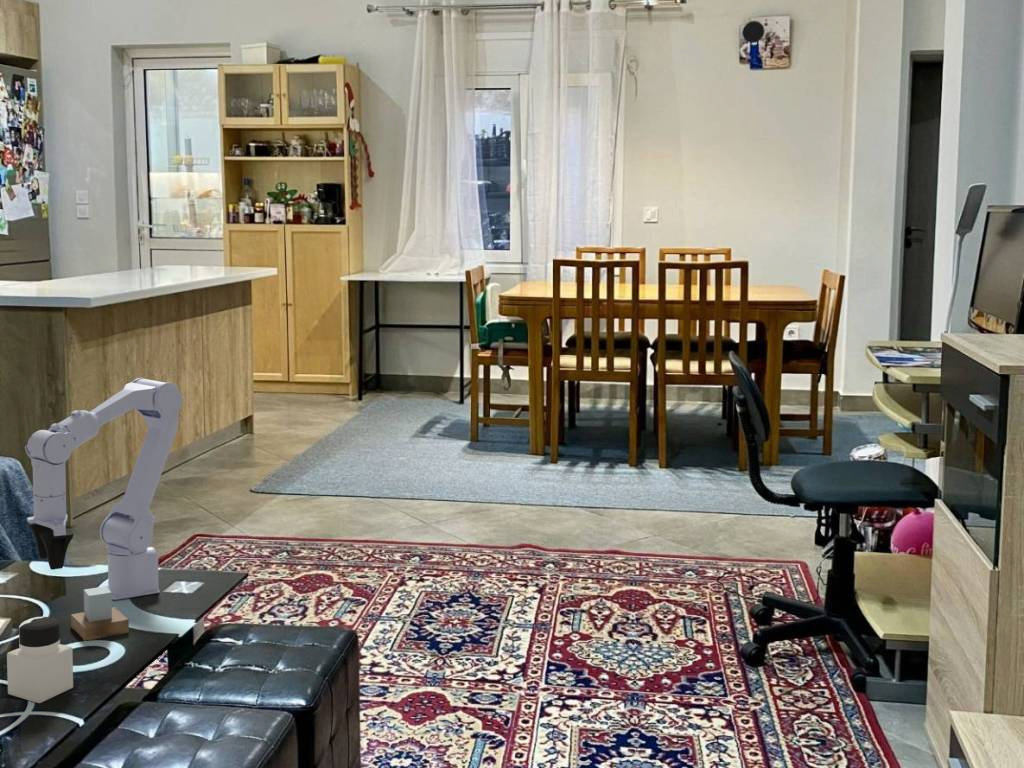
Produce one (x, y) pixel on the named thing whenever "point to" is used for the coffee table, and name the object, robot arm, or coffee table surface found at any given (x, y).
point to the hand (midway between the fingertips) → (51, 562)
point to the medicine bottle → (39, 662)
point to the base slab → (100, 625)
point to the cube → (97, 604)
